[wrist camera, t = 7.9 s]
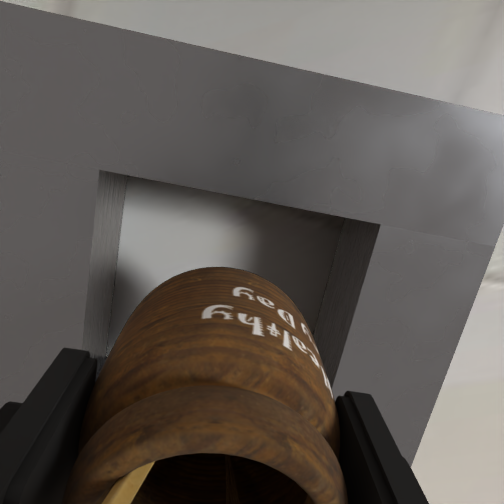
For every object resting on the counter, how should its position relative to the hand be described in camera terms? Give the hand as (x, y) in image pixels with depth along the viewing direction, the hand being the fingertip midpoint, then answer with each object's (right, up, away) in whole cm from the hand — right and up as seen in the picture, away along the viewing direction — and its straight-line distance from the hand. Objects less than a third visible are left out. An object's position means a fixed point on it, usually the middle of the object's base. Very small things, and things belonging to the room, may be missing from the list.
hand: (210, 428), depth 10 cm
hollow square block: (0, +3, +9) cm, 9 cm away
